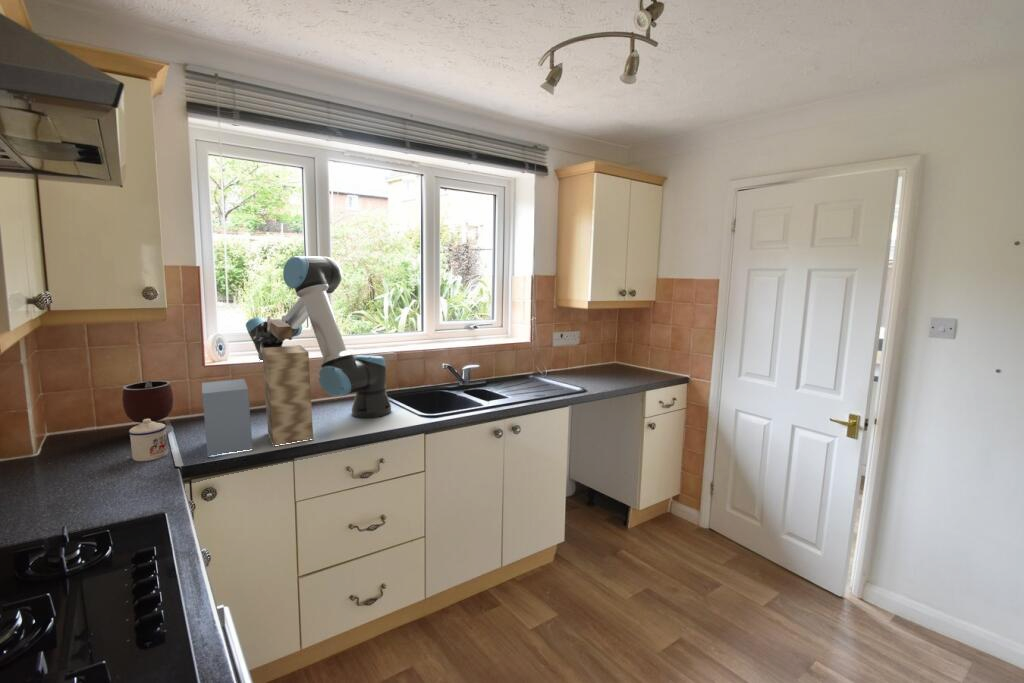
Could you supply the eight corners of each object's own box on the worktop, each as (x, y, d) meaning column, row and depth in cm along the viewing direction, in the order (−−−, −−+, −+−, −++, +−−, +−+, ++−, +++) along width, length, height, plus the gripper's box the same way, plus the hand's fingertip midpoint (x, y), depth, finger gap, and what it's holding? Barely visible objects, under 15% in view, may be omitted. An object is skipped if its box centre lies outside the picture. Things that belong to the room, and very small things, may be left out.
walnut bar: (280, 329, 182) (279, 319, 182) (292, 338, 161) (291, 326, 160) (268, 330, 180) (267, 319, 180) (278, 339, 158) (277, 326, 158)
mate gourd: (124, 432, 171) (118, 376, 168) (172, 424, 180) (167, 370, 177) (129, 444, 160) (122, 384, 157) (180, 434, 169) (174, 377, 166)
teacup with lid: (155, 462, 145) (151, 424, 143) (124, 462, 145) (119, 424, 143) (181, 447, 157) (178, 412, 155) (152, 447, 157) (149, 412, 155)
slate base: (248, 436, 168) (244, 378, 165) (252, 450, 155) (248, 388, 152) (207, 442, 162) (202, 383, 159) (207, 458, 148) (202, 393, 145)
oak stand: (304, 427, 177) (300, 345, 173) (313, 440, 164) (308, 351, 160) (267, 433, 171) (262, 348, 167) (273, 447, 158) (267, 355, 153)
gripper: (296, 351, 196) (303, 327, 178) (247, 355, 187) (250, 330, 168) (293, 334, 198) (301, 308, 180) (245, 337, 189) (248, 310, 171)
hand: (276, 319), depth 174 cm, fingers closed on walnut bar, 4 cm apart
